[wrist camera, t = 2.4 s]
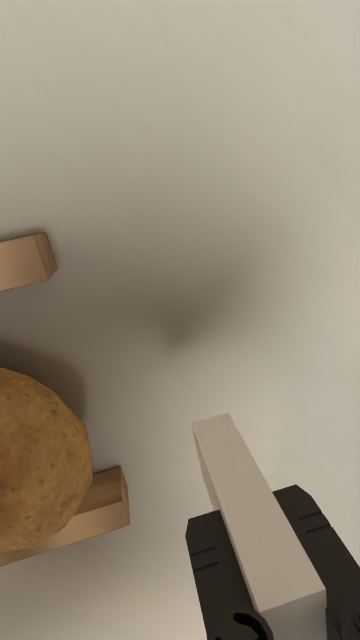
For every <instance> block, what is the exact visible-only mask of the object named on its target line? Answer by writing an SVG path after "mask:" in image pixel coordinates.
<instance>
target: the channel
mask: <svg viewBox="0 0 360 640" xmlns="http://www.w3.org/2000/svg"><path fill="white" fill-rule="evenodd" d="M56 270H57V267H56V264H55V261H54V258H53V254H52V251H51V248H50V245H49V242H48V239H47V236H46V233H40V234H35V235H30V236H26V237H21V238H16V239H11V240H6V241H2V242H0V291H2V290H6V289H10V288H15V287H19V286H24V285H28V284H33V283H37V282H41V281H46V280H49V278H50V277H51V276H52V275H53V274H54V272H55V271H56ZM92 478H93V481H92V483H91V485H90V486H89V488H88V490H87V492H86V494H85V496H84V497H83V499H82V501H81V503H80V505H79V506H78V508H77V510H76V512H75V514H74V515H73V517H72V518H71V520H70V521H69V523H68V524H67V526H66V527H64V528H63V529H62V530H60V531H59V532H58V533H56V534H55V535H54V536H52V537H51V538H49V539H48V540H47V541H45V542H44V543H43V544H41V545H40V546H36V547H30V548H24V549H18V550H12V551H6V552H0V566H3V565H6V564H9V563H12V562H15V561H18V560H22V559H25V558H28V557H31V556H34V555H37V554H40V553H43V552H46V551H50V550H53V549H56V548H59V547H62V546H65V545H68V544H71V543H74V542H78V541H81V540H84V539H87V538H90V537H93V536H96V535H99V534H102V533H106V532H109V531H112V530H115V529H118V528H121V527H124V526H127V525H130V517H129V503H128V488H127V485H126V482H125V479H124V476H123V472H122V469H121V466H120V467H116V468H113V469H110V470H106V471H103V472H100V473H96V474H93V475H92Z"/></svg>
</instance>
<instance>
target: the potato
mask: <svg viewBox="0 0 360 640" xmlns="http://www.w3.org/2000/svg"><path fill="white" fill-rule="evenodd" d="M92 481H93V478H92V458H91V452H90V447H89V442H88V436H87V431H86V426H85V424H84V423H83V422H82V421H81V420H80V419H79V418H78V417H77V416H76V415H75V414H74V413H73V412H72V411H71V410H70V409H69V408H68V407H67V406H66V405H65V404H64V403H63V402H62V400H61V399H60V398H59V397H58V395H57V394H56V393H55V392H54V391H53V390H51V389H50V388H48V387H46V386H45V385H43V384H41V383H40V382H38V381H36V380H35V379H33V378H31V377H29V376H28V375H25V374H21V373H18V372H15V371H12V370H9V369H5V368H2V367H0V552H6V551H12V550H18V549H24V548H30V547H36V546H40V545H41V544H43V543H44V542H45V541H47V540H48V539H49V538H51V537H52V536H54V535H55V534H56V533H58V532H59V531H60V530H62V529H63V528H64V527H66V526H67V524H68V523H69V521H70V520H71V518H72V517H73V515H74V514H75V512H76V510H77V508H78V506H79V505H80V503H81V501H82V499H83V497H84V496H85V494H86V492H87V490H88V488H89V486H90V485H91V483H92Z"/></svg>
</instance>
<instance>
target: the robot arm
mask: <svg viewBox="0 0 360 640" xmlns="http://www.w3.org/2000/svg"><path fill="white" fill-rule="evenodd" d="M191 424H192V428H193V433H194V438H195V442H196V447H197V452H198V456H199V461H200V465H201V470H202V475H203V478H204V482H205V485H206V488H207V491H208V494H209V497H210V500H211V503H212V506H213V509H214V511H213V512H210V513H207V514H203V515H200V516H197V517H194V518H191V519H189V520H188V525H187V531H186V536H185V537H186V542H187V546H188V551H189V555H190V560H191V565H192V569H193V574H194V578H195V583H196V588H197V592H198V597H199V601H200V606H201V610H202V615H203V620H204V624H205V629H206V633H207V640H360V567H359V566H358V564H357V563H356V561H355V560H354V558H353V557H352V555H351V554H350V552H349V551H348V549H347V548H346V546H345V545H344V544H343V542H342V541H341V539H340V538H339V536H338V535H337V533H336V532H335V530H334V529H333V527H331V525H330V523H329V521H328V520H327V519H326V517H325V516H324V514H322V512H321V510H320V508H319V507H318V505H317V504H316V502H315V501H314V499H313V498H312V497H311V495H309V494H308V493H307V492H305V491H304V490H303V489H301V488H300V487H299V486H297V485H293V486H289V487H286V488H283V489H280V490H277V491H273V492H272V491H271V489H270V487H269V486H268V484H267V482H266V480H265V478H264V476H263V475H262V473H261V471H260V469H259V467H258V466H257V464H256V462H255V460H254V458H253V457H252V455H251V453H250V451H249V449H248V448H247V446H246V444H245V442H244V440H243V439H242V437H241V435H240V433H239V431H238V430H237V428H236V426H235V424H234V422H233V421H232V419H231V417H230V415H229V413H226V414H223V415H219V416H215V417H212V418H208V419H205V420H201V421H198V422H194V423H191Z"/></svg>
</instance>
